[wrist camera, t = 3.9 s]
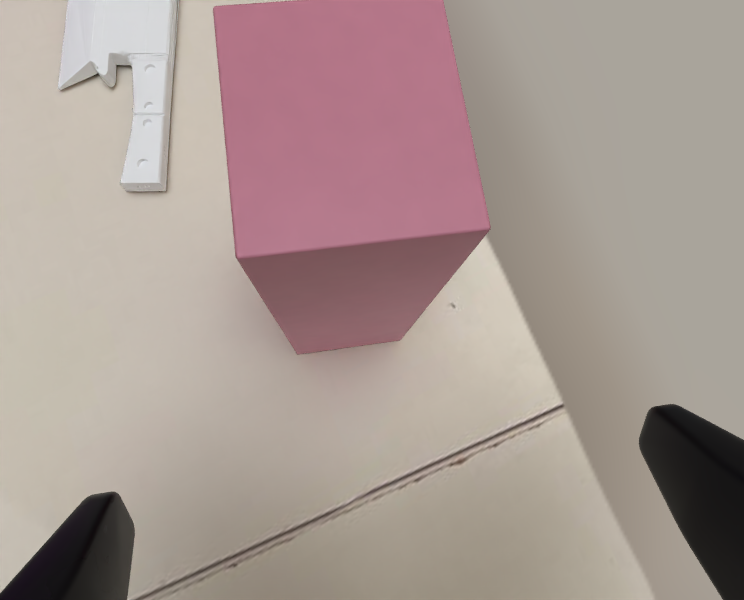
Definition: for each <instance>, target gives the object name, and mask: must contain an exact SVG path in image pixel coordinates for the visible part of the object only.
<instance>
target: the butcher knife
mask: <svg viewBox="0 0 744 600" xmlns="http://www.w3.org/2000/svg"><path fill="white" fill-rule="evenodd" d="M178 8H179V0H178ZM176 11H177V0H68V6H67V14H66V23H65V31H64V40H63V49H62V57H61V66H60V74H59V83H58V89H59V90H62V89H64V88H66V87H68V86H71V85H73V84H75V83H77V82H80V81H82V80H84V79H86V78H89V77H91V76H93V75H95V74H98V73H99V75H100V76H101V78H102V79H103V80H104V82H105V83H106V84H107V85H108V86H109V87H113V86H114V85H115V82H116V65H131V67H132V76H133V99H134V111H133V122H132V128H131V134H130V139H129V144H128V149H127V154H126V159H125V164H124V168H123V173H122V177H121V181H120V185H121V186H122V187H123V188H124V189H125V190H126V191H166V182H167V165H168V147H169V130H170V113H171V97H172V81H173V72H172V69H173V71H174V58H175V49H174V44H175V46H176V37H175V27H176V33H177V24H176ZM177 20H178V12H177ZM132 110H133V108H132Z"/></svg>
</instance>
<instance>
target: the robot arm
mask: <svg viewBox="0 0 744 600" xmlns="http://www.w3.org/2000/svg"><path fill="white" fill-rule="evenodd" d="M639 447H640V450H641V453H642V455H643V457H644V459H645V461H646V463H647V465H648V467H649V469H650V471H651V473H652V475H653V477H654V479H655V481H656V483H657V485H658V487H659V489H660V491H661V493H662V495H663V497H664V499H665V501H666V503H667V505H668V507H669V509H670V511H671V513H672V515H673V517H674V519H675V521H676V523H677V525H678V527H679V529H680V530H681V532H682V534H683V536H684V538H685V539H686V541H687V543H688V544H689V546H690V548H691V549H692V551H693V552H694V554H695V556H696V557H697V559H698V560H699V562H700V564H701V565H702V567H703V568H704V570H705V572H706V573H707V575H708V576H709V578H710V580H711V581H712V583H713V585H714V586H715V588H716V589H717V591H718V593H719V594H720V595H721V597H722V599H723V600H744V440H743V439H741V438H739V437H737V436H735V435H733V434H731V433H729V432H728V431H726V430H724V429H722V428H720V427H718V426H716V425H714V424H712V423H711V422H709V421H707V420H705V419H703V418H701V417H699V416H697V415H695V414H694V413H691V412H690V411H688V410H686V409H684V408H682V407H680V406H678V405H674V404H668V405H662V406H655V407H652V408H651V409H650V410H649V411H648V413H647V416H646V419H645V422H644V425H643V428H642V431H641V434H640V437H639ZM134 537H135V529H134V524H133V521H132V519H131V517H130V515H129V513H128V511H127V509H126V507H125V505H124V503H123V501H122V499H121V497H120V496H119V494H118V493H116V492H106V493H100V494H94V495H90V496H88V497H87V498H86V499H84V500H83V501H82V502H81V504H80V505H79V506H78V507H77V508H76V509H75V510H74V511H73V512H72V514H71V515H70V516H69V517H68V518H67V519H66V520H65V521H64V523H63V524H62V525H61V526H60V527H59V528H58V529H57V530H56V531H55V533H54V534H53V535H52V536H51V537H50V538H49V539H48V540H47V542H46V543H45V544H44V545H43V546H42V547H41V548H40V549H39V551H38V552H37V553H36V554H35V555H34V556H33V557H32V558H31V559H30V561H29V562H28V563H27V564H26V565H25V566H24V567H23V568H22V570H21V571H20V572H19V573H18V574H17V575H16V576H15V577H14V578H13V580H12V581H11V582H10V583H9V584H8V585H7V586H6V587H5V589H4V590H3V591H2V592H1V593H0V600H127V596H128V587H129V579H130V571H131V562H132V554H133V546H134Z"/></svg>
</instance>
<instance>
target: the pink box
mask: <svg viewBox="0 0 744 600" xmlns="http://www.w3.org/2000/svg"><path fill="white" fill-rule="evenodd" d="M213 14H214V25H215V36H216V47H217V58H218V69H219V80H220V91H221V102H222V113H223V124H224V135H225V146H226V156H227V167H228V178H229V189H230V200H231V211H232V222H233V233H234V244H235V255H236V258H237V260H238V262H239V263H240V265H241V266H242V268H243V269H244V271H245V273H246V274H247V276H248V277H249V279H250V280H251V282H252V284H253V285H254V287H255V288H256V290H257V291H258V293H259V295H260V296H261V298H262V299H263V301H264V302H265V304H266V306H267V307H268V309H269V310H270V312H271V313H272V315H273V317H274V318H275V320H276V321H277V323H278V324H279V326H280V328H281V329H282V331H283V332H284V334H285V335H286V337H287V339H288V340H289V342H290V343H291V345H292V346H293V348H294V350H295V351H296V353H297V354H304V353H311V352H319V351H326V350H333V349H341V348H348V347H355V346H363V345H370V344H377V343H384V342H392V341H399V340H401V339H402V338H403V336H404V335H405V334H406V333H407V331H408V330H409V329H410V328H411V326H412V325H413V324H414V323H415V321H416V320H417V319H418V318H419V317H420V315H421V314H422V313H423V312H424V310H425V309H426V308H427V307H428V305H429V304H430V303H431V302H432V301H433V299H434V298H435V297H436V296H437V294H438V293H439V292H440V291H441V289H442V288H443V287H444V286H445V285H446V283H447V282H448V281H449V280H450V278H451V277H452V276H453V275H454V273H455V272H456V271H457V270H458V268H459V267H460V266H461V265H462V264H463V262H464V261H465V260H466V259H467V257H468V256H469V255H470V254H471V252H472V251H473V250H474V249H475V248H476V246H477V245H478V244H479V243H480V241H481V240H482V239H483V238H484V236H485V235H486V234H487V233H488V232H489V230H490V222H489V217H488V212H487V208H486V202H485V197H484V193H483V188H482V184H481V178H480V174H479V169H478V164H477V159H476V155H475V151H474V145H473V140H472V136H471V131H470V126H469V121H468V117H467V112H466V107H465V102H464V97H463V93H462V88H461V83H460V78H459V74H458V69H457V64H456V59H455V55H454V50H453V45H452V40H451V36H450V31H449V26H448V21H447V16H446V12H445V7H444V2H443V0H297V1H282V2H268V3H253V4H239V5H224V6H215V7H214V8H213Z"/></svg>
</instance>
